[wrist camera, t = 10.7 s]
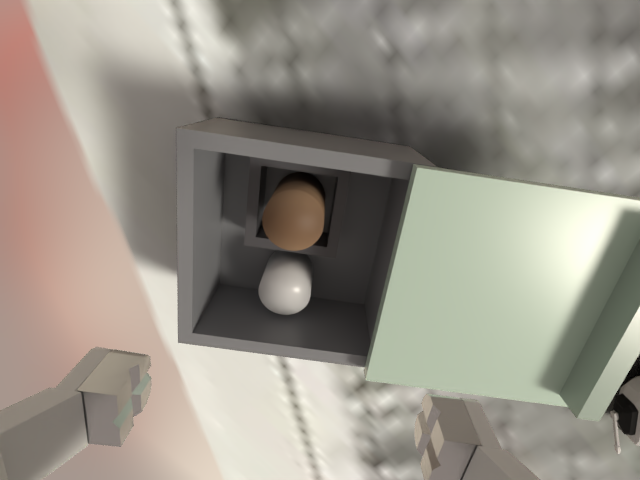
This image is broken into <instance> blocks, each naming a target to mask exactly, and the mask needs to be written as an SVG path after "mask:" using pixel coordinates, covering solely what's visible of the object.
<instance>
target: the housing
mask: <svg viewBox="0 0 640 480" xmlns="http://www.w3.org/2000/svg"><path fill="white" fill-rule="evenodd" d="M413 164H417V165H424V166H430V167H437V166H436V165H434V164H433V163H432V162H430V161H429V160H428V159H426V158H425V157H424V156H422V155H421V154H419V153H418V152H417V151H415V150H414V149H413V148H411V147H410V146H404V145H398V144H391V143H384V142H378V141H371V140H364V139H358V138H351V137H344V136H338V135H331V134H324V133H318V132H311V131H304V130H298V129H291V128H284V127H278V126H271V125H265V124H258V123H251V122H245V121H238V120H231V119H225V118H218V117H216V118H212V119H209V120H205V121H201V122H197V123H193V124H189V125H185V126H181V127H177V128H176V170H177V282H178V343H185V344H192V345H200V346H207V347H215V348H222V349H230V350H237V351H245V352H253V353H260V354H268V355H275V356H283V357H290V358H298V359H305V360H313V361H320V362H328V363H335V364H343V365H350V366H358V367H365V364H366V360H367V356H368V352H369V348H370V343H371V339H372V335H373V331H374V327H375V323H376V318H377V314H378V310H379V306H380V302H381V297H382V293H383V289H384V285H385V281H386V277H387V272H388V268H389V264H390V260H391V256H392V252H393V247H394V243H395V239H396V235H397V231H398V227H399V222H400V218H401V214H402V210H403V206H404V202H405V197H406V193H407V189H408V185H409V181H410V177H411V172H412V168H413ZM295 172H304V173H308V174H311V175H313V176H314V177H316V178H317V179H318V180H319V181H320V182H321V184H322V186H323V188H324V191H325V215H324V228H323V232H322V234H321V236H320V238H319V239H318V240H317V241H316V242H315V243H314V244H313V245H312V246H310V247H308V248H306V249H303V250H298V251H291V250H285V249H282V248H280V247H278V246H277V245H275V244H274V243H272V242H271V241H270V240H269V238H268V237H267V235H266V234H265V231H264V229H263V224H262V217H263V212H264V210H265V207H266V206H267V204H268V202H269V200H270V198H271V197H272V195H273V193H274V191H275V189H276V187H277V186H278V184H279V182H280V181H281V180H282V179H283V178H284V177H285V176H287V175H289V174H291V173H295Z"/></svg>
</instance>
